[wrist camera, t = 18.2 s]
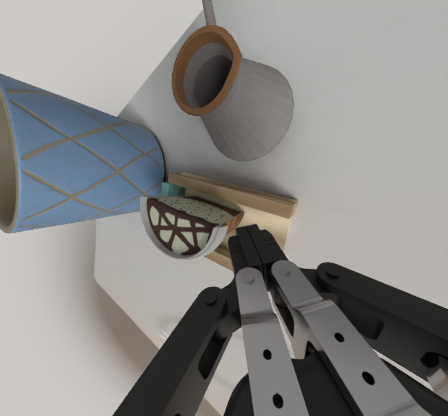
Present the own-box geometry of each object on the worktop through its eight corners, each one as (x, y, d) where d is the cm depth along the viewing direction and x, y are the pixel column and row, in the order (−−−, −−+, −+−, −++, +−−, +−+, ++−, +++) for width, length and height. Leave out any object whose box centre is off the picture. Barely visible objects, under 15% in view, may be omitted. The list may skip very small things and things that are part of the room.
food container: (184, 225, 32) (133, 239, 23) (189, 193, 31) (137, 195, 22) (243, 252, 27) (206, 284, 18) (254, 215, 25) (218, 229, 17)
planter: (109, 141, 43) (-34, 111, 26) (161, 109, 34) (-10, 26, 16) (123, 217, 43) (-8, 237, 26) (179, 206, 34) (31, 227, 17)
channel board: (185, 172, 32) (163, 169, 28) (297, 200, 23) (292, 203, 19) (177, 232, 35) (155, 238, 30) (274, 277, 26) (264, 296, 22)
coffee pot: (296, 158, 23) (264, 121, 10) (221, 167, 28) (137, 151, 15) (297, -25, 21) (255, -378, 8) (215, 24, 26) (112, -134, 13)
